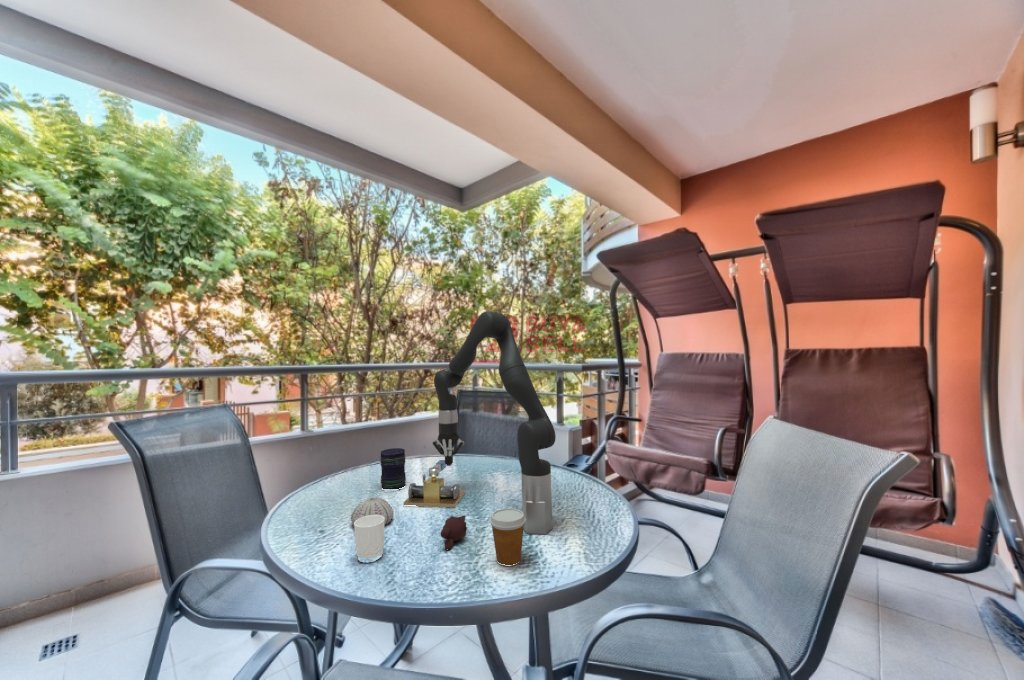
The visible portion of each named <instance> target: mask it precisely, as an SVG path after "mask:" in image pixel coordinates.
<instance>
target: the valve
mask: <svg viewBox="0 0 1024 680" xmlns="http://www.w3.org/2000/svg"><path fill="white" fill-rule="evenodd" d="M422 484H423V485H420V484H419V485H417V483H416V482H412V483H409V486H408V489H407V490H408V491H407V492H408V493H407V499H405V501H403V506H404V505H416V506H430V507H429V508H432V507H451V508H450V509H455V508H456V507H457V506H458V504H459V503H460V502H461V500H462V499H463V497H464V496H465V493H466V490H465V489H461V488H460V487H461V486H460V484H459V483H455V484H454V486H453V485H451V486H450V485H445V478H443V477H442V478H441V477H437V476H436V477H428V478H427V479H426V474H425V473H423V474H422ZM463 495H464V496H463ZM461 498H462V499H461ZM460 499H461V500H460ZM458 502H459V503H458ZM456 505H457V506H456ZM455 506H456V507H455ZM452 507H453V508H452Z"/></svg>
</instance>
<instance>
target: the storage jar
mask: <svg viewBox="0 0 1024 680" xmlns="http://www.w3.org/2000/svg"><path fill="white" fill-rule="evenodd" d="M379 461H380V466H381V468H380V470H381V475H380V486H381V487H382V488H383V489H399V488H402V487H404V486H405V485H406V480H407V476H406V472H405V471H406V469H405V468H406V466H405V465H406V450H405V448H397V447H394V448H388V449H384V450H381V451H380V460H379Z"/></svg>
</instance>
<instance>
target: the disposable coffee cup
mask: <svg viewBox="0 0 1024 680" xmlns="http://www.w3.org/2000/svg"><path fill="white" fill-rule="evenodd" d="M525 521H526V519H525V517H524V514H523V512H522V510H520V509H517V508H510V507H509V508H500V509H496V510H495V511H493V512H492V513H491V516H490V518H489V522H490V525H491V528H492V529H491V530H492V537H493V542H494V543H493V544H494V550H495V557H496V562H497V561H498V562H499V563H501V564H505V565H513V564H516V563H518V562H519V561H520V560H521V559H522V551H523V550H522V547H523V538H524V524H525ZM521 561H522V560H521ZM521 561H520V562H521Z"/></svg>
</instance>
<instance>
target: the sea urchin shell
mask: <svg viewBox="0 0 1024 680" xmlns="http://www.w3.org/2000/svg"><path fill="white" fill-rule="evenodd" d="M394 512H395V511H394V509H393V506H391V504H390V503H389V501H387V500H385V499H384V498H382V497H380V496H379V497H378V496H377V497H368V498H366V499H365V500H363V501H361V502H360V503H358V504H357V506H355V508H354V509H353V511H352V512H351V514H350V521H351V523H352V524H353V525H354V522H355V521H356V520H357V519H359V518H361V517H364V516H368V515H381V516H383V517H384V518H385V524H384V526H386V525H387V524H389V523H390V522H392V520H393V518H394V514H395V513H394ZM391 519H392V520H391ZM388 522H389V523H388ZM386 523H387V524H386Z"/></svg>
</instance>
